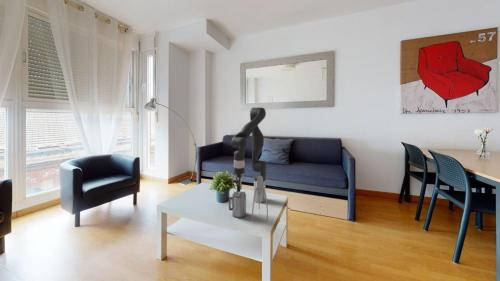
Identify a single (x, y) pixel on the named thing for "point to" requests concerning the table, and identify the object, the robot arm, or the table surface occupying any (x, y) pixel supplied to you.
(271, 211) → the table surface
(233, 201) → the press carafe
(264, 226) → the table surface
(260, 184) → the juicer
